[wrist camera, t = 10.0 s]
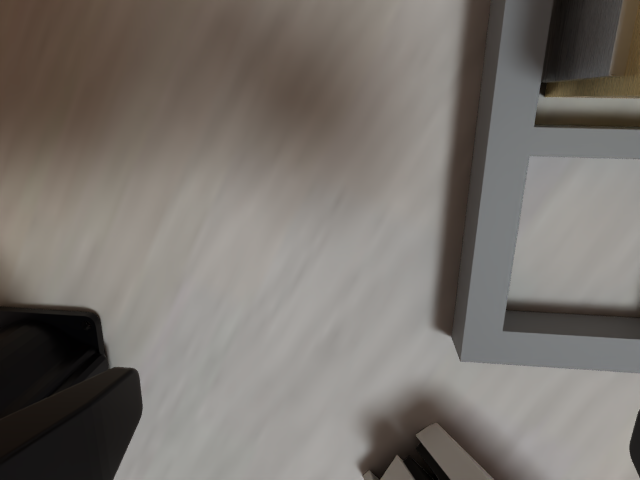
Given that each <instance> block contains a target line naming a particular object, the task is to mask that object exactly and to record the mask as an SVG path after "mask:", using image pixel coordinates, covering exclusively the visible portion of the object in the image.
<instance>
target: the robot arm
mask: <svg viewBox="0 0 640 480" xmlns="http://www.w3.org/2000/svg"><path fill="white" fill-rule="evenodd" d="M86 321H88V322H89V323H90V325H91V326H89V325H87V324H86ZM142 409H143V404H142V395H141V386H140V378H139V373H138V371H137V370H136V369H134V368H124V367H114V368H111V369H108V362H107V358H106V356H105V351H104V344H103V337H102V330H101V323H100V320H99V318H98V317H97V315H95V314H94V313H90V312H76V311H60V310H43V309H27V308H11V307H0V480H113V479H114V477H115V474H116V472H117V470H118V468H119V466H120V463H121V461H122V459H123V457H124V454H125V452H126V450H127V448H128V445H129V443H130V441H131V439H132V436H133V434H134V432H135V430H136V427H137V425H138V423H139V421H140V418H141V415H142ZM629 450H630V456H631V459H632V462H633V464H634V466H635V468H636V470H637V473H638V475H639V477H640V410H639V412H638V415H637V418H636V422H635V426H634V429H633V433H632V437H631V441H630V448H629Z"/></svg>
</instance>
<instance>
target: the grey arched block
mask: <svg viewBox="0 0 640 480" xmlns="http://www.w3.org/2000/svg"><path fill="white" fill-rule="evenodd" d="M416 436H417V438H418V439H419V440H420V442H421V443H420V444H419V445H418V446H417V447H416V449H417V451H418V452H419V453H420V455H421V456H422V457H423V459H424V460H425V461H426V463H427V464H428V465H429V467H430V468H431V469H432V471H433V472H434V473H435V475H436V476H437V477H438V480H494V479H493V478H492V477H491V476H490V475H489V474H488V473H487V472H486V471H485V470H484V469H483V468H482V467H481V466H480V465H479V464H478V463H477V462H476V461H475V460H474V459H473V458H472V457H471V456H470V455H469V454H468V453H467V452H466V451H465V450H464V449H463V448H462V447H461V446H460V445H459V444H458V443H457V442H456V441H455V440H454V439H453V438H452V437H451V436H450V435H449V434H448V433H447V432H446V431H445V430H444V429H443V428H442V427H441V426H440V425H439V424H438V423H434V424H432V425H429V426H427V427H426V428H425V429H423V430H422V431H420V432H419V433H418V434H416ZM363 478H364V480H379V479H378V478H377V477H376V476H375V475H374V474H373V473H372V472H371V471H369V470H368V471H367V472H366V473H365V474H364V475H363ZM380 480H433V478H432V477H431V476H430V475H429V474H428V473H427V472H426V471H425V470H424V469H423V468H422V467H421V466H420V465H419V464H418V463H417V462H416V461H415V460H414V459H413V458H411V457H410V456H408V457H407V458H406V459H405V460H404V461H403V460H402V459H401V458H400V457H399V456H398V455H396V457H395V458H394V460H393V461H392V463H391V464H390V466H389V467H388V469H387V470H386V472H385V473H384V475H383V476H382V478H381V479H380Z"/></svg>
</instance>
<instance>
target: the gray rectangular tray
mask: <svg viewBox="0 0 640 480" xmlns="http://www.w3.org/2000/svg"><path fill="white" fill-rule="evenodd" d="M552 6H553V0H491V5H490V14H489V22H488V31H487V40H486V48H485V57H484V65H483V74H482V82H481V91H480V99H479V108H478V116H477V125H476V134H475V142H474V151H473V159H472V168H471V176H470V185H469V193H468V202H467V210H466V219H465V228H464V236H463V245H462V253H461V262H460V270H459V279H458V287H457V296H456V304H455V313H454V322H453V330H452V340H453V343H454V345H455V348H456V351H457V353H458V356H459V359H460V361H462V362H477V363H492V364H507V365H523V366H538V367H553V368H568V369H583V370H598V371H613V372H628V373H640V318H631V317H613V316H595V315H578V314H560V313H542V312H525V311H507V310H506V305H507V299H508V292H509V286H510V279H511V273H512V266H513V260H514V253H515V247H516V240H517V234H518V227H519V221H520V214H521V208H522V201H523V194H524V188H525V181H526V175H527V168H528V162H529V156H545V157H580V158H615V159H640V127H611V126H568V125H534V123H535V116H536V110H537V103H538V97H539V90H540V84H541V77H542V71H543V64H544V58H545V51H546V45H547V38H548V32H549V25H550V19H551V12H552Z"/></svg>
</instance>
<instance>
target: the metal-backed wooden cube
mask: <svg viewBox="0 0 640 480" xmlns="http://www.w3.org/2000/svg"><path fill="white" fill-rule="evenodd" d="M541 83H547V85H546V91H545V97H581V98H638V99H640V0H553V6H552V12H551V19H550V25H549V32H548V38H547V45H546V51H545V58H544V64H543V71H542V77H541Z"/></svg>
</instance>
